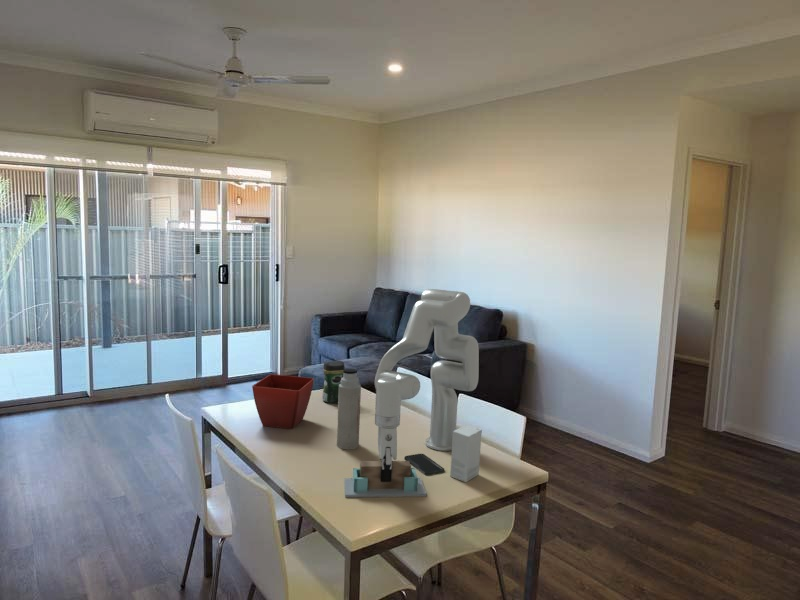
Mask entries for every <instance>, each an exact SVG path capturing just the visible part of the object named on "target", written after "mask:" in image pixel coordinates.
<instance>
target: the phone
mask: <svg viewBox="0 0 800 600" xmlns="http://www.w3.org/2000/svg"><path fill="white" fill-rule="evenodd" d="M404 461H409V462H410V465H411V467H412V468H414V469H415V470H417V471H419V472H420V473H421V474H423V475H424V476H431V475H436V474H437V475H438V474H443V473H445V468H444V467H443V466H441V465H440V464H438V463H437V462H436V461H434V459H433V460H432V459H431V458H430V457H428V456H427V455H426V454H425V453H416V454H410V455H405V456H404Z"/></svg>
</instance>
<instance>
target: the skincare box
mask: <svg viewBox="0 0 800 600" xmlns="http://www.w3.org/2000/svg"><path fill="white" fill-rule="evenodd" d="M482 432H483V430H482V429H481V428H478V427H474V426H471V425H467V424H465V425H463V426H461V427H459V428H456V430H455V431H453V441H452V450H451V456H450V457H451V459H450V473H449V474H450V475H449V476H450V478H453V479H455V480H459V481H461V482H464V483H468V482H469V481H470V480H473V479H474V478H476V477H478V476H479V475H480V474H479V473H480V459H481V446H482V435H483V434H482Z"/></svg>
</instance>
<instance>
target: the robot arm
mask: <svg viewBox="0 0 800 600" xmlns="http://www.w3.org/2000/svg"><path fill="white" fill-rule="evenodd" d="M470 308H471V299H470V297H469V295H468V293H466V292H462V291H457V290H456V291H455V290H448V289H447V290H446V289H437V288H436V289H435V288H428V289H425V290H423V291H422V293H421V296H420V300H418V301H416V302H415V303H414V304H413V307H412V310H411V313H410V316H409V319H408V321H407V325H406V328H405V330H404V334H403V337H402V339H401V340H399V342H397V343H396V344H394V345H393V346H392V347H391V348H390V349H389V350H387V352H386V353H384V355H383V356H382V358H381V360H380V361H379V365H378V367H377V370H376V372H375V378H374V388H375V408H374V409H375V410H374V411H375V412H374V425H375V426H376V427H377V428H378V429H377V430H378V431H377V437H378V438H377V448H378V449H377V450H378V454H379V461H382V468H381V482H391V477H392V461H397V459H398V458H397V454H398V452H397V451H398V450H397V449H398V447H397V446H398V430H397V428H398V427H400V425H401V406H402V401H405V400H411V399H413V398H415V397H416V396H417V395H418V394H419V392H420V390H421V381H420V379H419V378H418V377H417V376H416V375H414V374H409V373H405V372H400V371H393V368H394V367H395V365H397V363H398V362H400V361H401V360H403V359H404V358H407V357H410V356H412V355H416V354H420V353H422V352H424V351H426V350H427V349H428V347H429V344H430V341H431V338H432V335H434V336H433V338H434V339H433V341H434V346H433V347H434V352H435V353H434V354H435V355H436V356H437V357H438V358H440V359H444V360H438V361H435V362H433V364H432V365H431V368H430V380H431V409H430V424H429V425H430V427H429V428H430V430H429V437H427V438H426V439H425V446H427V448H429V449H433V450H436V451H442V452H443V451H445V452H446V451H447V452H448V451H452V441H453V431H455V430H457V422H458V421H457V420H458V419H457V418H458V406H459V405H458V404H459V400H458V395H457V393H456V390H458V391H464V392H473V391H474V390H476V388H477V386H478V384H479V371H480V370H479V366H480V363H479V360H480V359H479V358H480V357H479V356H480V355H479V353H480V350H479V342H478V340H477V339H476V338H475V337H474V336H472V335H467V334H461V333H459V325H458V324H459V322H460V321H461V320H463V319H464V317H466V316H467V314H468V312H469V311H470ZM433 333H434V334H433ZM384 461H386V463H384Z"/></svg>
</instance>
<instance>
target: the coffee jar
mask: <svg viewBox="0 0 800 600" xmlns="http://www.w3.org/2000/svg"><path fill="white" fill-rule="evenodd" d="M344 369H346V368H345V363H344V361H343V360H330V361H329V360H328V361H327V360H326V361H324V363H323V368H322V370H323V374H324V380H323V381H324V382H323V389H322V390H323V391H322V401H323V402H325V403H329V404H331V403H332V404H333V403H334V404H336V403H338V393H339V384H341V382H340V381H341V378H343V375H344V372H343V370H344Z"/></svg>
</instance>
